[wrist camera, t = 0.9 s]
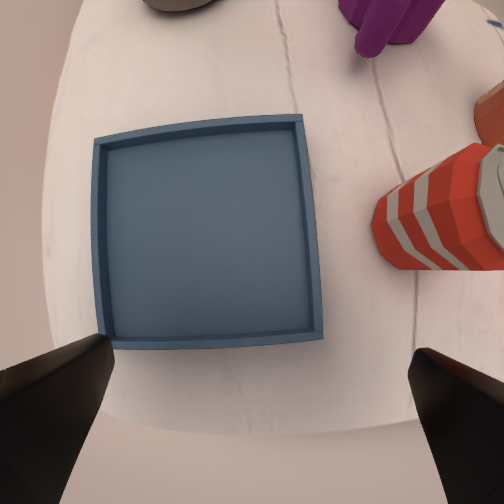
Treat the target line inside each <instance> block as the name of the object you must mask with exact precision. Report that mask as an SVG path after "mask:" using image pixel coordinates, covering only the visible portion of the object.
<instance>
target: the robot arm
mask: <svg viewBox="0 0 504 504" xmlns="http://www.w3.org/2000/svg"><path fill="white" fill-rule="evenodd" d="M114 364H115V358H114V352H113V347H112V341H111V338H110V336H109V335H106V334H100V333H96V334H93V335H91V336H88V337H86V338H83V339H81V340H78V341H76V342H73V343H71V344H68V345H65V346H63V347H60V348H58V349H55V350H53V351H50V352H48V353H46V354H43V355H40V356H37V357H35V358H33V359H30V360H28V361H25V362H22V363H19V364H17V365H15V366H12V367H9V368H6V369H5V370H2V371H0V504H59V502H60V500H61V497H62V494H63V491H64V489H65V487H66V484H67V482H68V479H69V477H70V474H71V472H72V469H73V467H74V465H75V462H76V460H77V458H78V455H79V453H80V451H81V448H82V446H83V444H84V441H85V439H86V437H87V435H88V432H89V430H90V428H91V426H92V423H93V421H94V419H95V417H96V415H97V412H98V410H99V408H100V406H101V403H102V400H103V397H104V394H105V391H106V388H107V385H108V382H109V379H110V376H111V374H112V371H113V368H114ZM408 380H409V383H410V387H411V391H412V394H413V398H414V402H415V405H416V409H417V413H418V416H419V419H420V422H421V424H422V427H423V430H424V432H425V435H426V438H427V441H428V443H429V446H430V449H431V452H432V455H433V458H434V461H435V464H436V466H437V470H438V473H439V475H440V479H441V482H442V485H443V488H444V491H445V495H446V498H447V501H448V504H504V383H503V382H501V381H499V380H497V379H495V378H492V377H490V376H488V375H486V374H484V373H482V372H480V371H477V370H475V369H473V368H471V367H469V366H467V365H465V364H462V363H460V362H458V361H456V360H454V359H452V358H450V357H447V356H445V355H443V354H441V353H439V352H437V351H435V350H433V349H431V348H418V349H416V351H415V352H414V355H413V358H412V361H411V364H410V367H409V370H408Z"/></svg>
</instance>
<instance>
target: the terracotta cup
mask: <svg viewBox="0 0 504 504" xmlns="http://www.w3.org/2000/svg"><path fill="white" fill-rule="evenodd" d="M474 118H475V124H476V128H477V131H478V134H479V136H480V138H481V140H482V142H483V144H484V145H485V146H489V147H494V146H495V145H497V144H501V145H504V80H503V81H502V82H501V83H499V84H498V85H497V86H495V87H494V88H493V89H491V90H490V91H489V92H487V93H486V94H485V95H484V96H482V97H481V98H480V99H479V100H478V101H477V103H476V105H475V109H474Z"/></svg>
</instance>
